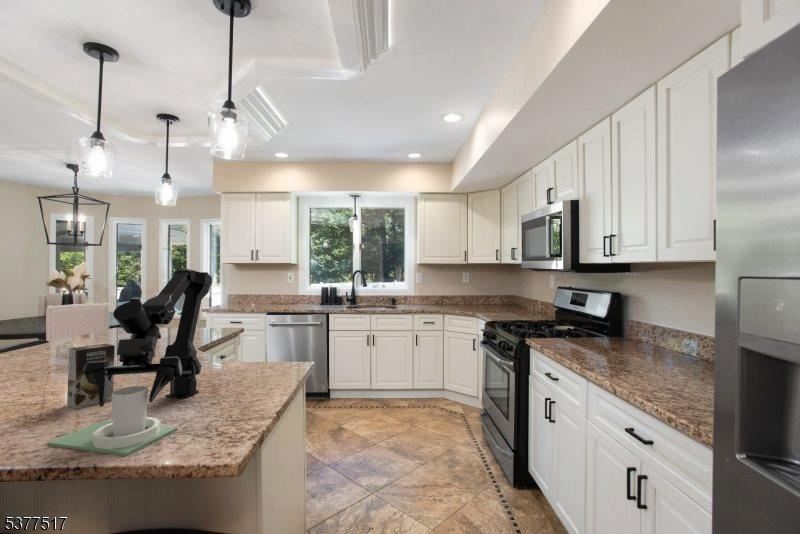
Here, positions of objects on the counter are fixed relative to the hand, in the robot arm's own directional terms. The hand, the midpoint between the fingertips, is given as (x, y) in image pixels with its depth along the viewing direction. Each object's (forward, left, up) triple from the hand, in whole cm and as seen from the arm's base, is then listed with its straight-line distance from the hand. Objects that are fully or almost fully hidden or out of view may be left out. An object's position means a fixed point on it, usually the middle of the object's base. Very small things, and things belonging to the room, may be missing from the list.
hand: (126, 403), depth 84 cm
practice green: (-4, +1, -8) cm, 9 cm away
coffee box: (-33, +18, -9) cm, 38 cm away
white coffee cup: (-1, +1, -8) cm, 8 cm away
